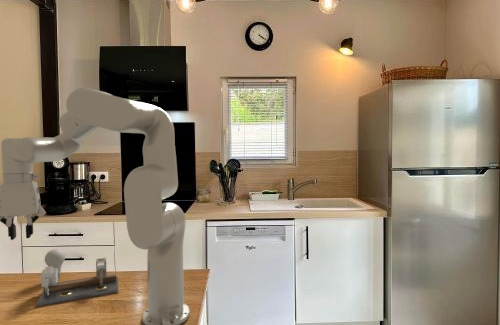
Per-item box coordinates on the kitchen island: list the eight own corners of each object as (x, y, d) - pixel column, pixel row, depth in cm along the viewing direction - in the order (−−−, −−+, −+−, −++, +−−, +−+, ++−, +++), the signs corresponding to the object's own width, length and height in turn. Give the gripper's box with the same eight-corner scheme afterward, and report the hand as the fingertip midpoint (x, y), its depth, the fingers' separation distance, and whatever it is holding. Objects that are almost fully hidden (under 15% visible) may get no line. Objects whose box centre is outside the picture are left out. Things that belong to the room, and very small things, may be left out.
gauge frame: (116, 285, 103) (115, 263, 103) (41, 298, 95) (40, 274, 94) (116, 277, 110) (115, 256, 109) (45, 288, 101) (44, 265, 101)
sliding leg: (54, 294, 96) (53, 272, 96) (39, 297, 94) (38, 274, 94) (58, 284, 103) (57, 264, 102) (43, 287, 101) (42, 265, 101)
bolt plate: (118, 292, 101) (118, 288, 101) (37, 306, 92) (37, 302, 92) (117, 279, 110) (117, 276, 110) (44, 292, 101) (44, 287, 101)
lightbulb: (54, 275, 114) (52, 246, 113) (69, 276, 113) (68, 246, 113) (41, 283, 108) (39, 252, 107) (57, 284, 107) (56, 252, 106)
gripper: (52, 176, 102) (54, 231, 103) (-11, 178, 95) (-8, 237, 97) (47, 178, 95) (50, 237, 96) (-21, 181, 89) (-17, 245, 90)
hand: (21, 237), depth 96 cm, fingers open, 3 cm apart
